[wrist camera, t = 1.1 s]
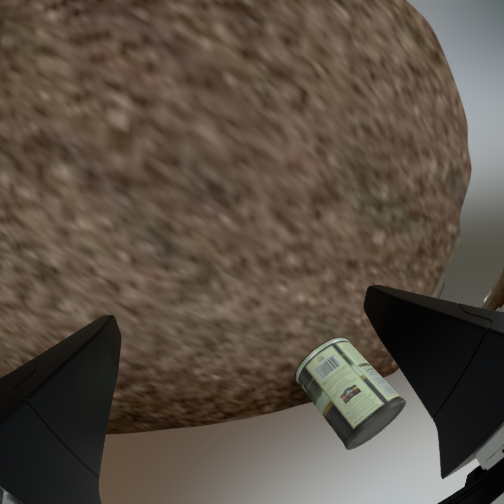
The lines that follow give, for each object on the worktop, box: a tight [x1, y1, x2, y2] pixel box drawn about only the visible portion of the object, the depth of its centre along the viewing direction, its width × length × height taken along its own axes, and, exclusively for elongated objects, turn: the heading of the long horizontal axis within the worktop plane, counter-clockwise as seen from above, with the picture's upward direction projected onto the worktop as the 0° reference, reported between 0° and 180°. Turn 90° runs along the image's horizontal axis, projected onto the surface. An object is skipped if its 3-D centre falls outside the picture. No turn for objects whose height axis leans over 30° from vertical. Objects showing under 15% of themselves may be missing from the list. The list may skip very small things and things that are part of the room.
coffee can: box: [296, 338, 406, 450], centre depth 39 cm, size 10×10×14 cm
